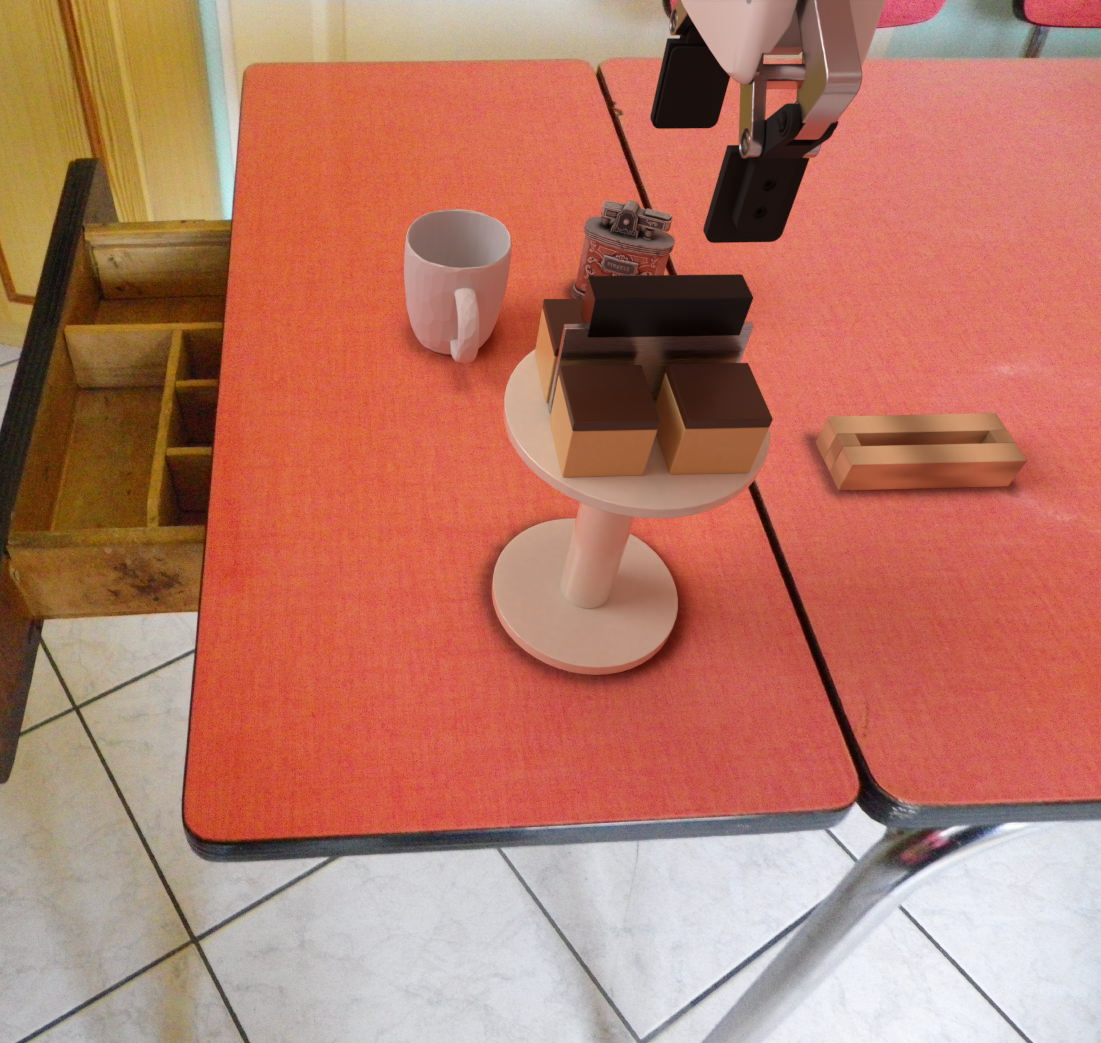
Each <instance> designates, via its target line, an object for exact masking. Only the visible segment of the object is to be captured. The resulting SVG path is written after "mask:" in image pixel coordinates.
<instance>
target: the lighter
mask: <svg viewBox="0 0 1101 1043" xmlns="http://www.w3.org/2000/svg"><path fill="white" fill-rule="evenodd" d="M672 222H673V216H672V214H671V213H668V212H665V211H660V210H656V209H651V208H648V207H647V208H643V207H641V206H640V204H639V202H637V201H636V200H627V201H626V202H625V203H621V202H616V201H613V200H605V201H603V203H602V206H601V212H600V216H591V217H589V218H588V219H587V220H586V221H585V224H584V228H583V234H584V239H583V245H582V249H581V253H580V254H581V255H580V259H579V265H578V271H577V274H576V275H577V276H576V280H575V281H574V282H573V287H572V291H571V295H572V296H573V298H574V299H584V295H585V291H586V286H587V281H588V277H589V276H629V275H665V271H666V268H667V265H668V264H667V263H668V260H669V257H670V254H671V253H672V252H673V249H674V246H675V242H676V241H675V238H674V236H673V235H671V234H670V233H668V232H669V231H670V230H671V226H672Z"/></svg>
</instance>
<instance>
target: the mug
mask: <svg viewBox="0 0 1101 1043" xmlns="http://www.w3.org/2000/svg"><path fill="white" fill-rule="evenodd" d="M512 244H513V242H512V236H511V234H510V231H509V229H508V228H507V227H506V225H505V224H504V223H503V222H502V221H500V220H499V219H498V218H495V217H493V216H491V215H488V214H486V213H484V212H480V211H475V210H470V209H462V208H452V209H451V208H450V209H449V208H448V209H437V210H434V211H430V212H427V213H424V214H422V215H420V216H419V217H417V218H416V219H415V220H414V221H412V223H411V224H410V226H409V227H408V229H407V232H406V236H405V245H404V257H403V258H404V260H403V262H404V266H403V281H404V291H405V292H404V294H405V304H406V309H407V310H406V311H407V314H408V317H409V321H410V322H409V323H410V326H411V329H412V332H413V333H414V335H415V337H416V339H417V340H418V341H419V344H421V345H422V346H423V347H424V348H426V349H428V350H430V351H431V352H435V353H437V354H442V355H449V356H450V355H451V357H452V359H453V360H454V361H455V362H456V363H458V364H467V363H472V362H474V360H475V359H476V358H477V355H478V353H479V349H480V348H481V347H483V346H484V344H485V343H486V341H487V340H488V339H489V338H490V337H491V335H492V333H493V331H494V329H495V326H496V324H497V321H498V319H499V317H500V313H501V309H502V307H503V305H504V300H505V295H506V292H507V287H508V280H509V273H510V267H511V260H512V253H513V252H512V246H513V245H512Z"/></svg>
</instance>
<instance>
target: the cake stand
mask: <svg viewBox="0 0 1101 1043" xmlns="http://www.w3.org/2000/svg"><path fill="white" fill-rule="evenodd" d="M535 349H536V348H534V349H533V350H531V351H530V352H529V353H528V354H527V355H525V356H524V357H523V359H521V361H520V362H518V364H517V365H516V366H515V368H514V370H513V371H512V373H511V374H510V375H509V378H508V381H507V384H506V386H505V391H504V397H503V404H502V410H503V411H502V419H503V423H504V427H505V432H506V434H507V436H508V439H509V442H510V444H511V445H512V447H513V449H514V451H515V452H516V454H517V456H518V457H519V458H520V459H521V460H522V462H523V463H524V464H525V465H526V467H527V468H528V469H529V470H530V471H531V472H532V473H534V474H535V475H536V476H537V477H538V478H539V479H540V480H542V481H543V482H545V483H546V484H547V485H548V486H550V487H551V488H553V489H554V490H556V491H557V492H559V493H561V494H563V495H564V496H566V497H568V498H571V499H572V500H574V501H577V502H579V504H578V508H577V512H576V516H575V518H573V517H572V518H571V517H570V518H569V517H568V518H558V519H551V520H548V521H544V522H540V523H538V524H535V525H532V526H531V527H529V528H526V529H525V530H523V531H521V532H520V533H519V534H517V535H515V536H514V537H513V538H512V540H510V541H509V542H508V543H507V545H506V546H505V547H504V548H503V550H502V551H500V552H501V553H500V554H499V557H498V558H497V560H496V563H495V566H494V569H493V575H492V582H491V598H492V605H493V608H494V611H495V615H496V616H497V618H498V620H499V622H500V624H501V626H502V627H503V629H504V631H505V632H506V633H507V634H508V636H509V637H510V638H511V639H512V640H513V641H514V643H516V644H517V645H518V646H519V647H520V648H521V649H522V650H524V651H525V652H526V653H527V654H529V655H531V656H532V657H533V658H535V659H537V660H539V661H541V662H543V663H544V664H547V665H548V666H551V667H553V668H555V669H559V670H563V671H566V672H569V673H573V674H574V673H575V674H579V675H591V676H595V675H596V676H598V675H601V676H603V675H611V674H616V673H617V674H618V673H621V672H625V671H629V670H631V669H634V668H636V667H639V666H640V665H642V664H644V663H646V662H647V661H649V660H650V659H652V658H653V657H654V656H655V655H656V654H657V653H658V652H659V651H660V650H661V649H662V648H663V646H664V645H665V644H666V643H667V641H668V639H669V637H670V635H671V633H672V631H673V628H674V626H675V624H676V623H675V622H676V621H677V617H678V610H679V596H678V592H677V591H678V590H677V587H676V584H675V581H674V578H673V576H672V574H671V572H670V570H669V568H668V567H667V565H666V564H665V562H664V560H662V558H661V557H660V555H658V553H656V551H655V550H653V549H652V548H651V547H650V546H649V545H648V544H647V543H646V542H644V541H642V540H641V539H640V538H638V536H636V535H633V534H632V533H631V532H632V529H633V527H634V523H635V520H636V518H637V519H652V520H654V519H655V520H661V519H662V520H664V519H678V518H686V517H691V516H696V515H699V514H704V513H707V512H710V511H713V510H715V509H718V508H720V507H722V506H724V505H726V504H728V503H729V502H731V501H733V500H734V499H736V498H738V497H739V496H740V495H741V494H742V493H743V492H745V491H746V490H747V489H749V487H750V486H751V485H752V484H753V482H754V481H755V480H756V478H757V477H758V475H759V473H760V472H761V470H762V468H763V467H764V463H765V461H766V460H767V457H768V454H769V450H770V444H771V428H770V427H769V429H768V431H767V434H766V436H765V438H764V440H763V443H762V445H761V447H760V449H759V452H758V454H757V456H756V459H755V461H754V463H753V465H752V468H751V470H750V472H749V473H723V474H680V475H670V474H669V471H668V468H667V465H666V462H665V459H664V456H663V453H662V450H661V446H660V443H659V440H658V437H657V434H656V436H655V439H654V442H653V445H652V449H651V452H650V455H649V458H648V461H647V464H646V468H645V471H644V474H643V475H635V476H592V477H562V473H561V469H560V465H559V460H558V456H557V451H556V447H555V442H554V438H553V433H552V429H551V424H550V416H551V413H549V411H548V406H549V403H546V401H545V397H544V392H543V388H542V383H541V379H540V374H539V370H538V366H537V361H536V357H535Z"/></svg>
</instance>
